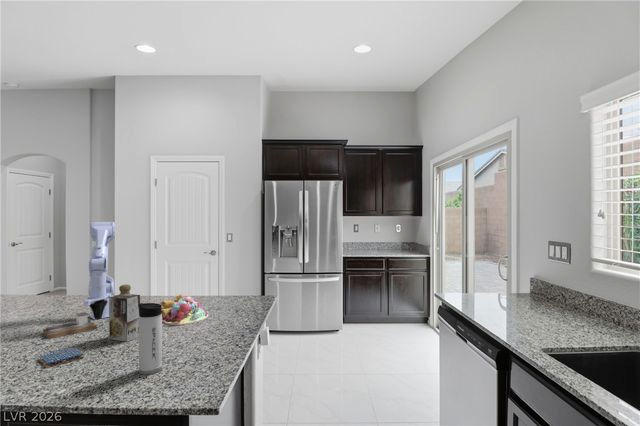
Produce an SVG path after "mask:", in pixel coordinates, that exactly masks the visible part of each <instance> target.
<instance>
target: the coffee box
mask: <svg viewBox="0 0 640 426" xmlns="http://www.w3.org/2000/svg"><path fill="white" fill-rule="evenodd" d="M111 296H112V297H109V317H108V318H109V321H108V322H109V323H108V324H109V327H108V329H109V330H108V331H109V333H108V334H109V335H108V336H109V338H108V339H109V340H114V341H119V342H130V341H132V340H133V341H134V340H135V339H139V307H138V305H139V304H140V303H141V295H140V294H135V293H134V294H133V293H130V294H120V293H119V294H115V295H111Z"/></svg>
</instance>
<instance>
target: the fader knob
mask: <svg viewBox="0 0 640 426" xmlns="http://www.w3.org/2000/svg"><path fill="white" fill-rule="evenodd" d="M75 315H76V318H75V319H76V321H75V322H76V324H77V325H80V324H85V323H88V319H89V318H88V317H89V314H88V313H87V312H86V311H83V312H78V313H75Z"/></svg>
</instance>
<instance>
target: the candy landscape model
mask: <svg viewBox="0 0 640 426" xmlns="http://www.w3.org/2000/svg"><path fill="white" fill-rule="evenodd" d="M175 298H176V299H174V300H170V299H167V300H163V301H161V302H160V303H159V304H160V305H161V307H162V324H163V323H164V324H165V325H167V326H186V325H191V324H194V323H198V322H200V321H203V320H206V319H208V317H209V315H210V314H209V313H208V311H205V310H204V309H203V308H202V306H201V302H200V301H199V299H198V298H197V299H196V298H195V297H191V296H185V297H184V296H183V294H181V293H180V294H177V295H176V297H175ZM195 299H196V301H195Z"/></svg>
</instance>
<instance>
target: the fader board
mask: <svg viewBox="0 0 640 426" xmlns="http://www.w3.org/2000/svg"><path fill="white" fill-rule="evenodd" d="M97 329H98V325H97V324H96V323H95V322H94V321H92V320H91V319H90V318H88V323H85V324H80V325H77V324H76V321H74V322H73V321H72V322H68V323H62V324H58V325H51V326H46V327H45V328H43V329H42V333H43V334H44V335H43V336H44V337H46V338H47V339H48V340H50V339H55V338H60V337H64V336H70V335H74V334H79V333H83V332H88V331H93V330H97Z"/></svg>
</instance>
